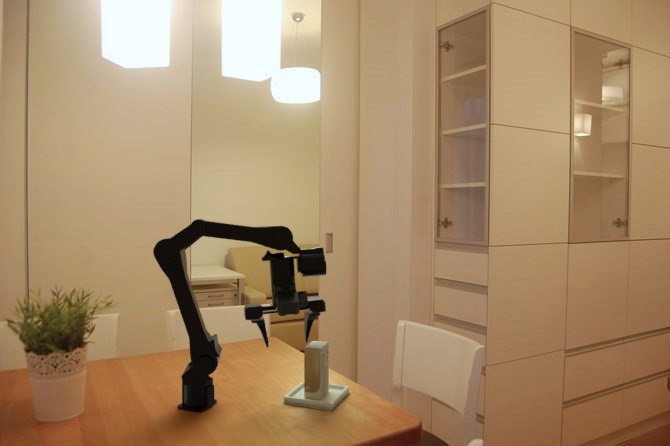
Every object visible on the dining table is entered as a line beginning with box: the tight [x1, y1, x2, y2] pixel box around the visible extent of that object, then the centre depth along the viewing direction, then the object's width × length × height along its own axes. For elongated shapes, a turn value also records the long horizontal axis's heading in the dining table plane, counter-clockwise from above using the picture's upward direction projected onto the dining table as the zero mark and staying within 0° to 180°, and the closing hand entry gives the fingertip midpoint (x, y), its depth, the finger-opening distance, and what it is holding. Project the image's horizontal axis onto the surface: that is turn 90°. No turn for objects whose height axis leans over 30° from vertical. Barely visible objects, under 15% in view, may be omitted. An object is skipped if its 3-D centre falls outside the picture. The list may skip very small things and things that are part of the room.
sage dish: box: [283, 381, 350, 412], centre depth 111 cm, size 12×12×2 cm
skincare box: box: [303, 340, 330, 400], centre depth 111 cm, size 6×4×12 cm
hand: (287, 344), depth 110 cm, fingers open, 9 cm apart
